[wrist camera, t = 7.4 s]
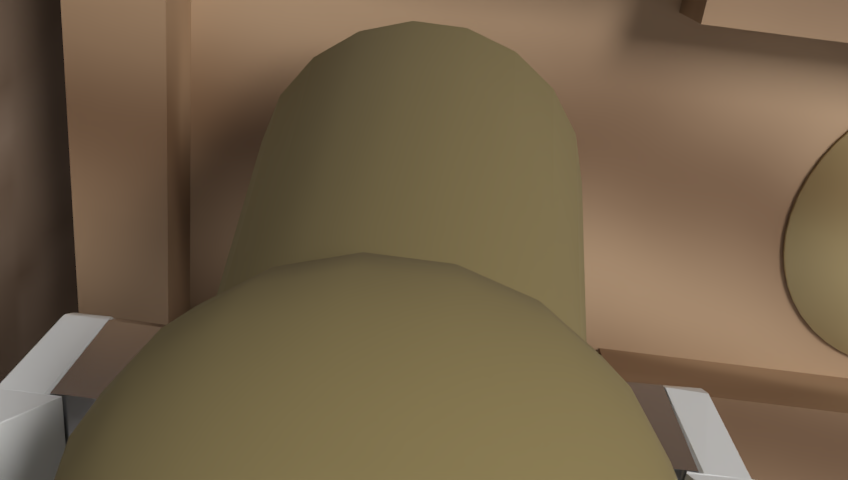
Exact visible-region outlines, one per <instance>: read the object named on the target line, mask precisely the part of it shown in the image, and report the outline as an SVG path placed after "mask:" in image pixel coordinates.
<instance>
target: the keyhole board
mask: <svg viewBox="0 0 848 480" xmlns="http://www.w3.org/2000/svg"><path fill="white" fill-rule="evenodd" d="M60 2H61V19H62V36H63V53H64V70H65V87H66V105H67V122H68V139H69V156H70V173H71V190H72V207H73V225H74V242H75V259H76V276H77V293H78V310H79V313H82V314H92V315H101V316H110V317H113V318H114V319H115V318H121V319H128V320H135V321H142V322H149V323H156V324H163V325H167V324H168V323H170V322H172V321H173V320H175V319H176V318H178V317H179V316H181V315H183V314H184V313H186V312H187V311H189V310H190V309H192V308H194V307H195V306H197V305H199V304H200V303H202V302H204V301H206V300H208V299H210V298H212V297H214V296H216V295H217V292H218V289H219V285H220V282H221V278H222V275H223V272H224V268H225V265H226V261H227V258H228V255H229V251H230V248H231V244H232V241H233V238H234V234H235V231H236V227H237V224H238V221H239V217H240V214H241V210H242V207H243V204H244V200H245V197H246V193H247V190H248V187H249V183H250V180H251V176H252V173H253V170H254V166H255V163H256V159H257V156H258V153H259V149H260V146H261V142H262V140H263V137H264V135H265V132H266V130H267V127H268V124H269V122H270V119H271V117H272V114H273V112H274V109H275V107H276V104H277V102H278V99H279V97H280V95H281V94H282V93H283V92H284V91H285V89H286V88H287V87H288V86H289V85H290V84H291V83H292V81H293V80H294V79H295V78H296V77H297V76H298V74H299V73H300V72H301V71H302V70H303V69H304V68H305V66H306V65H307V64H308V63H309V62H310V61H311V60H312V58H313V57H315V56H317V55H318V54H320V53H322V52H324V51H325V50H327V49H329V48H331V47H332V46H334V45H336V44H338V43H339V42H341V41H343V40H345V39H346V38H348V37H350V36H352V35H353V34H355V33H357V32H359V31H363V30H368V29H373V28H378V27H383V26H388V25H394V24H399V23H404V22H409V21H418V22H426V23H433V24H441V25H448V26H456V27H464V28H468V29H470V30H472V31H474V32H476V33H478V34H480V35H483V36H485V37H487V38H489V39H491V40H493V41H495V42H497V43H499V44H501V45H503V46H505V47H507V48H509V49H511V50H513V51H515V52H517V53H518V54H519V55H520V56H521V57H522V58H523V59H524V60H525V61H526V62H527V63H528V64H529V65H530V66H531V67H532V68H533V69H534V70H535V71H536V72H537V73H538V74H539V75H540V76H541V77H542V78H543V79H544V80H545V81H546V82H547V83H548V84H549V85H550V86H551V87H552V88H553V89H554V91H555V93H556V95H557V97H558V99H559V101H560V103H561V105H562V107H563V109H564V111H565V113H566V115H567V117H568V119H569V121H570V123H571V125H572V127H573V129H574V131H575V133H576V139H577V147H578V155H579V163H580V171H581V180H582V203H583V238H584V273H585V307H586V342H587V343H588V344H589V345H590V346H591V347H592V348H593V349H595V350H596V351H597V352H598V353H599V354H600V355H601V356H602V357H603V358H604V359H605V360H606V361H607V362H608V363H609V364H610V365H611V366H612V367H613V369H614V370H615V371H616V372H617V373H618V374H619V375H620V376H621V377H622V378H623V379H624V380H625V382H635V383H645V384H655V385H668V386H680V387H692V388H701V389H703V390H704V391H706V392H707V393H708V394H709V396H710V398H711V400H712V402H713V404H714V406H715V408H716V410H717V412H718V414H719V416H720V417H721V419H722V421H723V423H724V425H725V427H726V429H727V431H728V433H729V435H730V437H731V439H732V441H733V443H734V445H735V447H736V449H737V451H738V453H739V455H740V457H741V459H742V461H743V463H744V465H745V467H746V469H747V471H748V473H749V475H750V477H751V479H753V480H848V0H60Z"/></svg>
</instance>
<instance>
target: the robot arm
mask: <svg viewBox="0 0 848 480" xmlns="http://www.w3.org/2000/svg"><path fill="white" fill-rule="evenodd" d="M164 326H165V325H163V324H156V323H149V322H142V321H135V320H128V319H121V318H115V319H114V318H113V317H110V316H101V315H92V314H82V313H68V314H64V315H63V316H62V317H61V318H60V319H59V320H58V321H57V322H56V323H55V324H54V325H53V327H52V328H51V329H50V330H49V331H48V332H47V333H46V334H45V335H44V336H43V337H42V338H41V339H40V341H39V342H38V343H37V344H36V345H35V346H34V347H33V348H32V349H31V350H30V351H29V352H28V353H27V355H26V356H25V357H24V358H23V359H22V360H21V361H20V362H19V363H18V364H17V365H16V366H15V367H14V369H13V370H12V371H11V372H10V373H9V374H8V375H7V376H6V377H5V378H4V379H3V380H2V382H1V383H0V480H54V478H55V475H56V473H57V470H58V467H59V464H60V461H61V458H62V455H63V453H64V450H65V447H66V444H67V441H68V438H69V436H70V435H71V433H72V432H73V431H74V429H75V428H76V427H77V425H78V424H79V423H80V421H81V420H82V418H83V417H84V416H85V414H86V413H87V412H88V410H89V409H90V408H91V406H92V405H93V404H94V402H95V401H96V399H97V398H98V397H99V395H100V394H101V393H102V391H103V390H104V389H105V388H106V387H107V386H108V385H109V384H110V383H111V382H112V381H113V379H114V378H115V377H116V376H117V375H118V374H119V373H120V372H121V371H122V370H123V369H124V368H125V367H126V365H127V364H128V363H129V362H130V361H131V360H132V359H133V358H134V357H135V356H136V355H137V354H138V352H139V351H140V350H141V349H142V348H143V347H144V346H145V345H146V344H147V343H148V342H149V341H150V340H151V338H152V337H153V336H154V335H155V334H156V333H157V332H158V331H159V330H160V329H161V328H162V327H164ZM626 383H627V384H628V385H629V386H630V387H631V388H632V390H633V392H634V394H635V396H636V398H637V400H638V402H639V403H640V405H641V407H642V409H643V411H644V413H645V415H646V416H647V418H648V420H649V422H650V424H651V426H652V428H653V430H654V431H655V433H656V435H657V437H658V439H659V441H660V443H661V445H662V446H663V448H664V450H665V452H666V454H667V456H668V458H669V460H670V461H671V464H672V466H673V469H674V471H675V474H676V476H677V479H678V480H753V479H751V477H750V475H749V473H748V471H747V469H746V467H745V465H744V463H743V461H742V459H741V457H740V455H739V453H738V451H737V449H736V447H735V445H734V443H733V441H732V439H731V437H730V435H729V433H728V431H727V429H726V427H725V425H724V423H723V421H722V419H721V417H720V416H719V414H718V412H717V410H716V408H715V406H714V404H713V402H712V400H711V398H710V396H709V394H708V393H707V392H706V391H704V390H703V389H701V388H692V387H680V386H668V385H655V384H645V383H635V382H626Z"/></svg>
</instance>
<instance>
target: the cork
mask: <svg viewBox="0 0 848 480" xmlns="http://www.w3.org/2000/svg"><path fill="white" fill-rule="evenodd" d="M54 480H678V479H677V476H676V474H675V471H674V469H673V466H672V464H671V461H670V460H669V458H668V456H667V454H666V452H665V450H664V448H663V446H662V445H661V443H660V441H659V439H658V437H657V435H656V433H655V431H654V430H653V428H652V426H651V424H650V422H649V420H648V418H647V416H646V415H645V413H644V411H643V409H642V407H641V405H640V403H639V402H638V400H637V398H636V396H635V394H634V392H633V390H632V388H631V387H630V386H629V385H628V384H627V383H626V382H625V380H624V379H623V378H622V377H621V376H620V375H619V374H618V373H617V372H616V371H615V370H614V369H613V367H612V366H611V365H610V364H609V363H608V362H607V361H606V360H605V359H604V358H603V357H602V356H601V355H600V354H599V353H598V352H597V351H596V350H595V349H593V348H592V347H591V346H590V345H589V344H588V343H587V342H586V307H585V273H584V238H583V203H582V180H581V171H580V163H579V155H578V147H577V139H576V133H575V131H574V129H573V127H572V125H571V123H570V121H569V119H568V117H567V115H566V113H565V111H564V109H563V107H562V105H561V103H560V101H559V99H558V97H557V95H556V93H555V91H554V89H553V88H552V87H551V86H550V85H549V84H548V83H547V82H546V81H545V80H544V79H543V78H542V77H541V76H540V75H539V74H538V73H537V72H536V71H535V70H534V69H533V68H532V67H531V66H530V65H529V64H528V63H527V62H526V61H525V60H524V59H523V58H522V57H521V56H520V55H519V54H518V53H517V52H515V51H513V50H511V49H509V48H507V47H505V46H503V45H501V44H499V43H497V42H495V41H493V40H491V39H489V38H487V37H485V36H483V35H480V34H478V33H476V32H474V31H472V30H470V29H468V28H464V27H456V26H448V25H441V24H433V23H426V22H418V21H409V22H404V23H399V24H394V25H388V26H383V27H378V28H373V29H368V30H363V31H359V32H357V33H355V34H353V35H352V36H350V37H348V38H346V39H345V40H343V41H341V42H339V43H338V44H336V45H334V46H332V47H331V48H329V49H327V50H325V51H324V52H322V53H320V54H318V55H317V56H315V57H313V58H312V60H311V61H310V62H309V63H308V64H307V65H306V66H305V68H304V69H303V70H302V71H301V72H300V73H299V74H298V76H297V77H296V78H295V79H294V80H293V81H292V83H291V84H290V85H289V86H288V87H287V88H286V89H285V91H284V92H283V93H282V94H281V95H280V97H279V99H278V102H277V104H276V107H275V109H274V112H273V114H272V117H271V119H270V122H269V124H268V127H267V130H266V132H265V135H264V137H263V140H262V142H261V146H260V149H259V153H258V156H257V159H256V163H255V166H254V170H253V173H252V176H251V180H250V183H249V187H248V190H247V193H246V197H245V200H244V204H243V207H242V210H241V214H240V217H239V221H238V224H237V227H236V231H235V234H234V238H233V241H232V244H231V248H230V251H229V255H228V258H227V261H226V265H225V268H224V272H223V275H222V278H221V282H220V285H219V289H218V292H217V295H216V296H214V297H212V298H210V299H208V300H206V301H204V302H202V303H200V304H199V305H197V306H195V307H194V308H192V309H190V310H189V311H187V312H186V313H184V314H183V315H181V316H179V317H178V318H176V319H175V320H173V321H172V322H170V323H168V324H167V325H165V326H164V327H162V328H161V329H160V330H159V331H158V332H157V333H156V334H155V335H154V336H153V337H152V338H151V340H150V341H149V342H148V343H147V344H146V345H145V346H144V347H143V348H142V349H141V350H140V351H139V352H138V354H137V355H136V356H135V357H134V358H133V359H132V360H131V361H130V362H129V363H128V364H127V365H126V367H125V368H124V369H123V370H122V371H121V372H120V373H119V374H118V375H117V376H116V377H115V378H114V379H113V381H112V382H111V383H110V384H109V385H108V386H107V387H106V388H105V389H104V390H103V391H102V393H101V394H100V395H99V397H98V398H97V399H96V401H95V402H94V404H93V405H92V406H91V408H90V409H89V410H88V412H87V413H86V414H85V416H84V417H83V418H82V420H81V421H80V423H79V424H78V425H77V427H76V428H75V429H74V431H73V432H72V433H71V435H70V436H69V438H68V441H67V444H66V447H65V450H64V453H63V455H62V458H61V461H60V464H59V467H58V470H57V473H56V475H55V478H54Z"/></svg>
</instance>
